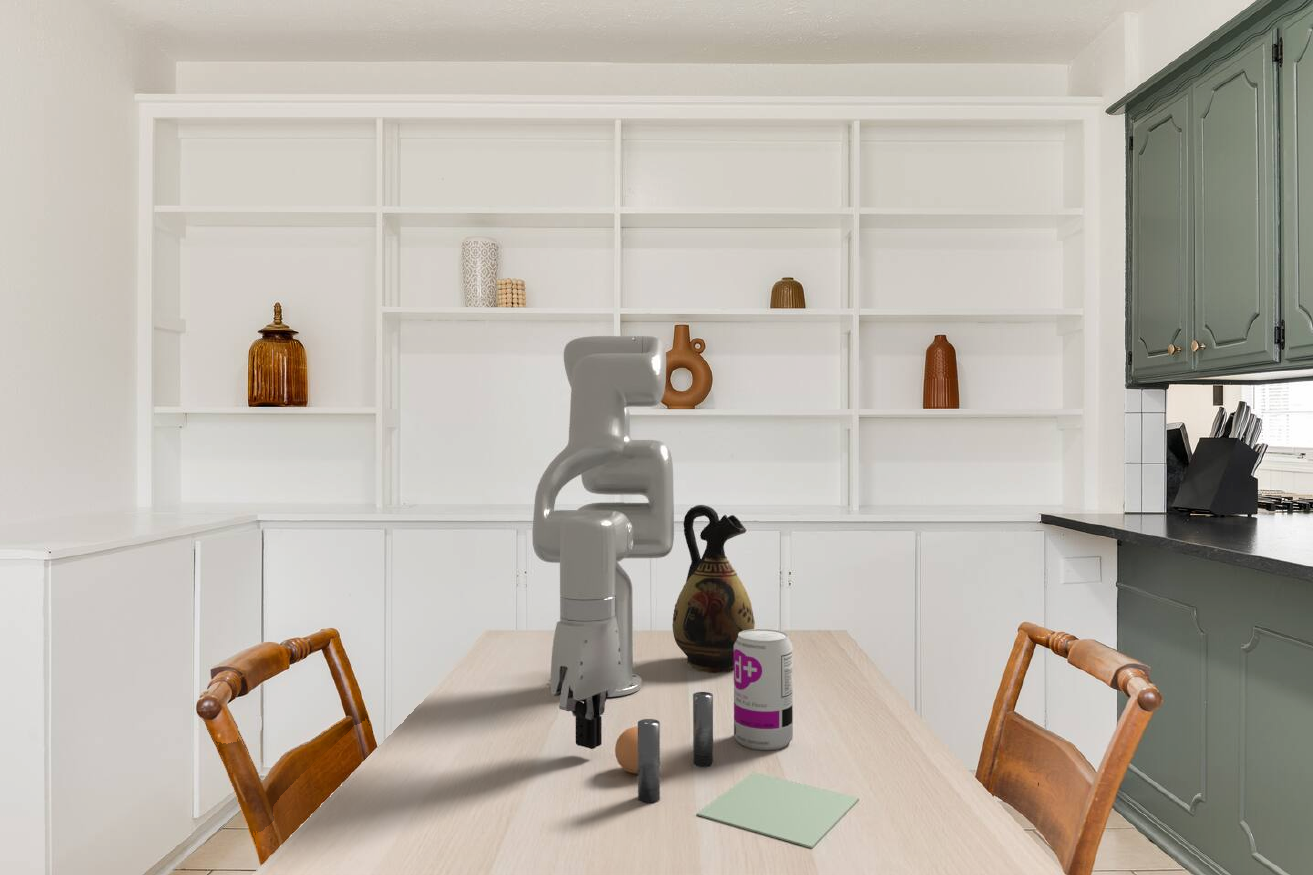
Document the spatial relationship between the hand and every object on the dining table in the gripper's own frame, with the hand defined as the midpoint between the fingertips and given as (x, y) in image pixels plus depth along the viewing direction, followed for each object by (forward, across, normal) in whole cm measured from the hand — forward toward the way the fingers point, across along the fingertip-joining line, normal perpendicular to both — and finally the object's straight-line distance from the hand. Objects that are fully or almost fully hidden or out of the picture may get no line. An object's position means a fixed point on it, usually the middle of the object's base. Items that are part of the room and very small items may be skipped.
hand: (588, 744), depth 112 cm
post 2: (+2, -6, +14) cm, 16 cm away
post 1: (+2, +6, +14) cm, 15 cm away
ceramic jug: (+2, -48, -9) cm, 49 cm away
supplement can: (+2, -18, +17) cm, 25 cm away
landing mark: (+2, 0, +28) cm, 28 cm away
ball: (-1, +1, +8) cm, 9 cm away
